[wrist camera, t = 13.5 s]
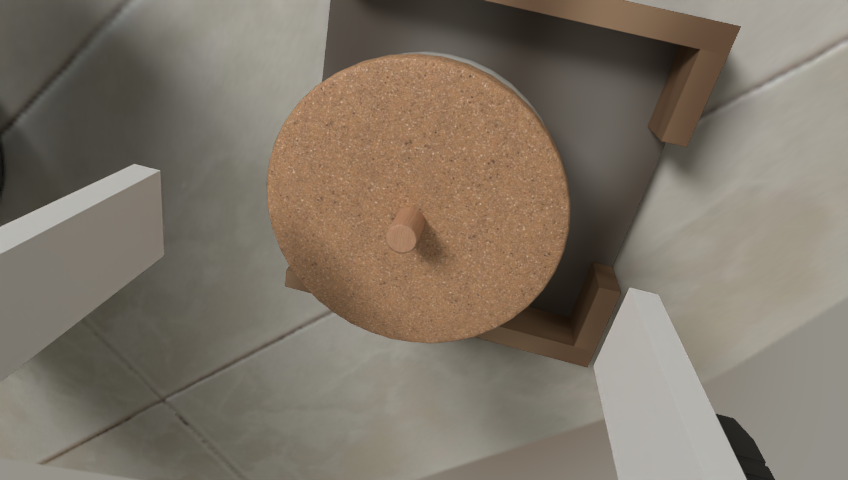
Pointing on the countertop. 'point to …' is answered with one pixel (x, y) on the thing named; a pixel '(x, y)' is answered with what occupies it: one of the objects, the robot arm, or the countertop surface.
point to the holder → (564, 118)
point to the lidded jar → (419, 197)
